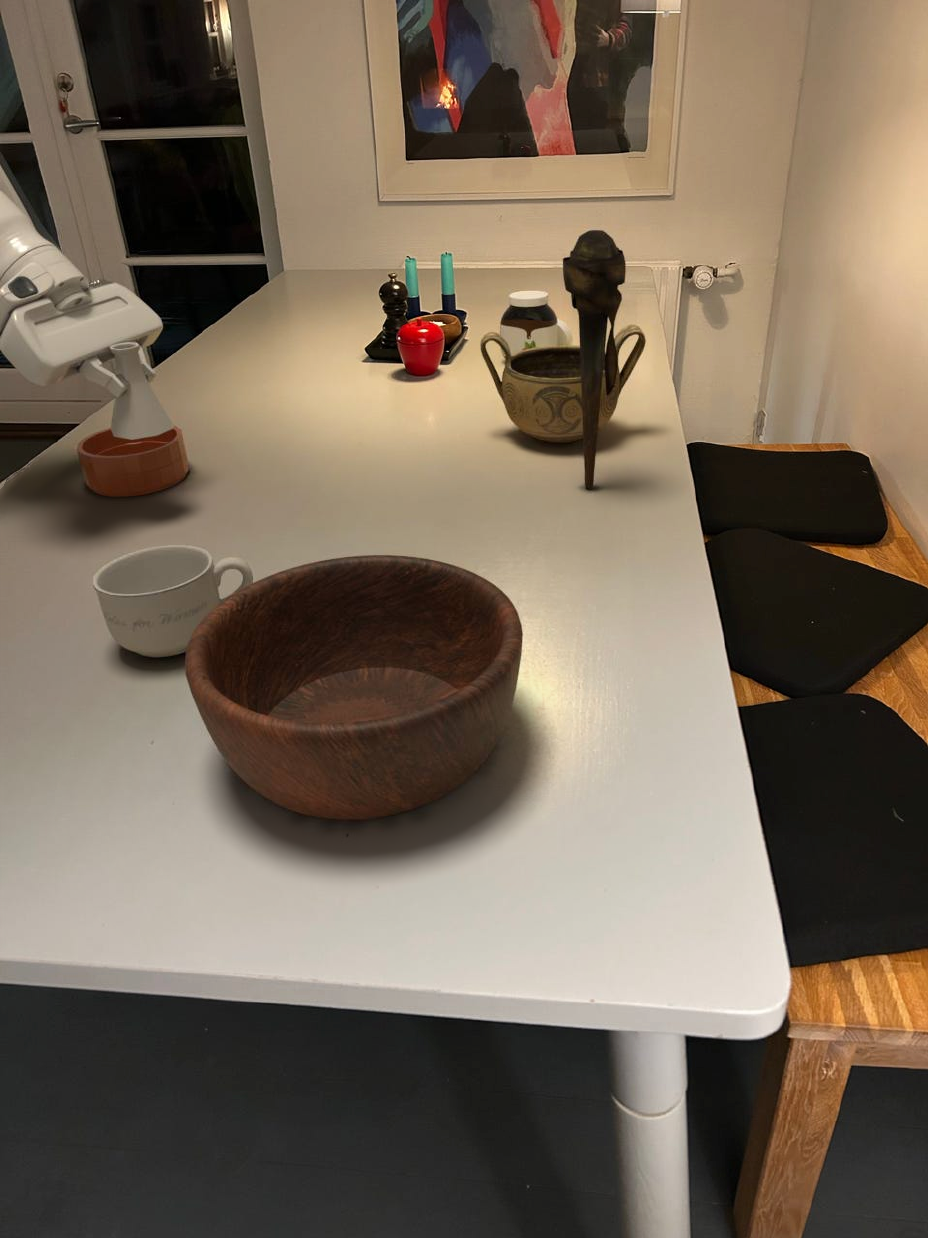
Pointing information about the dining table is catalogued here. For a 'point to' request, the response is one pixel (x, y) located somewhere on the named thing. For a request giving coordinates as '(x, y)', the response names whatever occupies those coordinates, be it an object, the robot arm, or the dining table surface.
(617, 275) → the decorative torch
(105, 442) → the terracotta bowl
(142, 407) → the flask
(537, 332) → the spread jar
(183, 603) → the teacup
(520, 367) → the ceramic bowl
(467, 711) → the wooden bowl
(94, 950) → the dining table surface
